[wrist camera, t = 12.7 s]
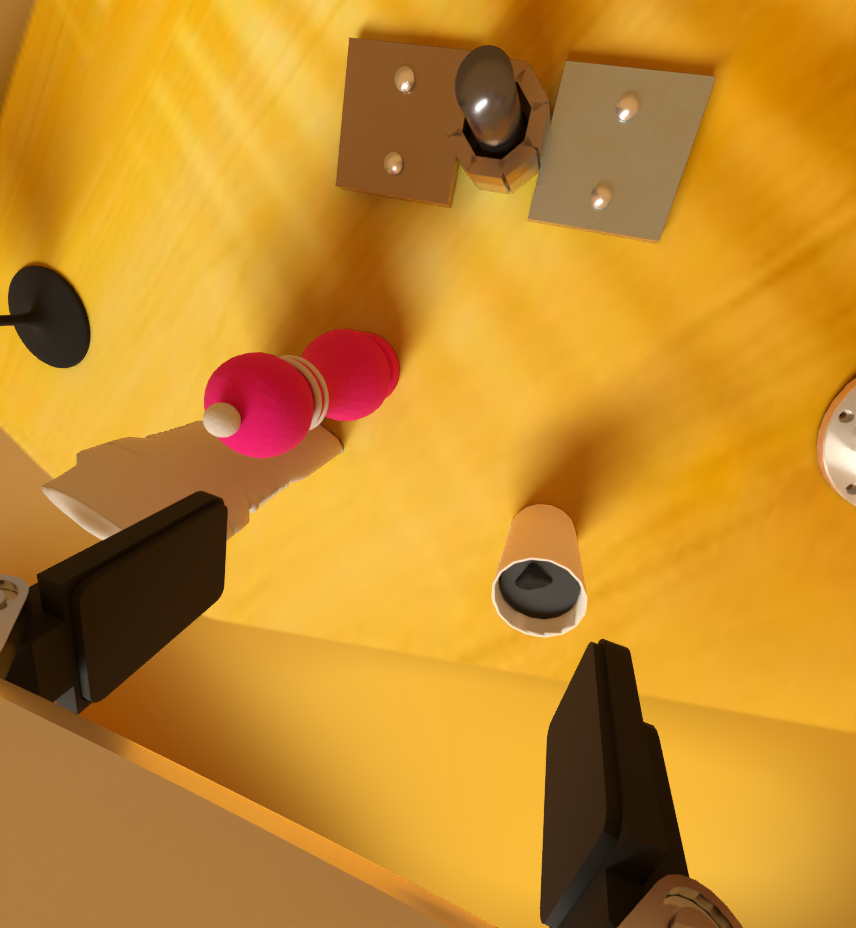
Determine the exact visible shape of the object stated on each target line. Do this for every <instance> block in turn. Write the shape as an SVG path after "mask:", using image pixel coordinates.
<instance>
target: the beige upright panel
mask: <svg viewBox="0 0 856 928" xmlns="http://www.w3.org/2000/svg"><path fill="white" fill-rule="evenodd" d="M341 452H343V445H342V444H341V442H340V440H339V439H338V438H337V437H336V436H335V435H334V434H332V433H331V432H330V431H329V430H328V429H326V428H325V427H324V426H323V425H322V424H319V425H318V426H317V427H315V428H314V429H312V430H309V431H308V433H307V434H306V436H305V438H304V439H303V440H302V441H301V442H300V444H298V445H297V446H296V447H294V448H293V449H292V450H290V451H288V452H286V453H284V454H282V455H278V456H275V457H269V458H254V457H249V456H245V455H242V454H240V453H238V452H235V451H233V450H232V449H230V448H229V447H228V446H226V445H225V444H223V443H222V442H221V441H220V440H219V438H218V437H216V436H214V435H212V434H211V433H209V432H208V431H207V429H206V428H205V427H204V424H203V421H195V422H194V423H190V424H187V425H185V426H182V427H178V428H174V429H171V430H169V431H165V432H160V433H157V434H152V435H148V436H146V437H145V438H135V437H127V438H122V439H118V440H114V441H111V442H108V443H105V444H102V445H98V446H95V447H92V448H89V449H86V450H83V451H80V452H79V453H78V454H77V465H76V466H75V467H73V468H72V469H70V470H68V471H67V472H65V473H64V474H62V475H61V476H59V477H57V478H56V479H54V480H52V481H50V482H48V483H46V484H45V485H43V486H41V488H42V490H43V492H44V494H45V495H46V496H47V497H48V498H49V499H50V501H51V502H53V503H54V504H55V505H56V506H57V507H58V508H59V509H60V510H61V511H63V512H64V513H65V514H66V515H68V516H69V517H70V518H71V519H73V520H74V521H75V522H76V523H78V524H79V525H80V526H81V527H83V528H84V529H85V530H86V531H88V532H90V533H91V534H93V535H95V536H97V537H98V538H100V539H101V540H104V539H106V538H108V537H110V536H112V535H114V534H116V533H118V532H120V531H122V530H123V529H125V528H127V527H129V526H131V525H133V524H135V523H137V522H139V521H141V520H143V519H145V518H147V517H148V516H150V515H152V514H154V513H156V512H158V511H160V510H162V509H164V508H166V507H168V506H170V505H172V504H174V503H175V502H177V501H179V500H181V499H183V498H185V497H187V496H189V495H191V494H193V493H195V492H197V491H205V492H207V493H210V494H213V495H215V496H218V497H221V498H222V499H223V501H224V505H225V506H227V508H228V519H227V539H226V540H228V539H229V538H230V537H232V536H233V535H234V534H236V533H237V532H239V531H240V530H241V529H242V528H243V527H244V526H245V525H246V524H247V523H248V522H249V513H253V512H255V511H256V510H257V509H258V508H259V507H260V506H262V505H263V503H265V502H266V501H267V500H269V499H270V498H272V497H273V496H274V495H276V493H278V492H280V491H282V490H283V489H284V488H285V487H288V485H289V483H292V482H296V481H299V480H303V479H304V478H306V477H307V476H309V475H310V474H311V473H313V472H314V471H316V470H317V469H319V468H320V467H321V466H323V465H324V464H326V463H327V462H328V461H330V460H331V459H333V458H334V457H335V456H337V455H338V454H340V453H341Z"/></svg>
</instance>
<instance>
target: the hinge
mask: <svg viewBox="0 0 856 928" xmlns="http://www.w3.org/2000/svg"><path fill="white" fill-rule="evenodd" d="M470 52H471V51H470V50H461V49H452V48H442V47H433V46H423V45H414V44H405V43H395V42H386V41H376V40H367V39H358V38H349V47H348V58H347V69H346V80H345V91H344V102H343V113H342V124H341V135H340V146H339V157H338V168H337V179H336V186H337V187H339V188H341V189H344V190H350V191H356V192H361V193H367V194H373V195H379V196H385V197H390V198H396V199H402V200H408V201H414V202H419V203H425V204H431V205H437V206H443V207H448V208H451V205H452V199H453V193H454V188H455V182H456V177H457V171H458V166H459V162H460V163H461V165H462V167H463V169H464V170H465V172H466V173H467V175H468V176H469V177H470V179H471V180H472V182H473V183H474V184H475V186H476V187H478V188H479V189H480V190H486V191H493V192H499V193H505V194H509V191H510V190H511V192H512V193H513V192H514V191H516V190H517V189H518V188H519V187H521V186H522V185H523V184H524V183H526V182H527V181H528V180H529V179H531V178H532V177H533V176H535V175H536V174H537V173H538V172H539V174H538V179H537V183H536V187H535V191H534V195H533V199H532V204H531V208H530V212H529V216H528V220H529V221H530V222H535V223H541V224H547V225H553V226H559V227H564V228H570V229H576V230H582V231H587V232H593V233H599V234H605V235H611V236H616V237H622V238H628V239H634V240H640V241H645V242H651V243H657V242H659V240H660V238H661V235H662V232H663V229H664V226H665V223H666V220H667V217H668V215H669V212H670V209H671V206H672V203H673V200H674V197H675V194H676V191H677V189H678V186H679V183H680V180H681V177H682V174H683V171H684V168H685V166H686V163H687V160H688V157H689V154H690V151H691V148H692V145H693V142H694V140H695V137H696V134H697V131H698V128H699V125H700V122H701V119H702V117H703V114H704V111H705V108H706V105H707V102H708V99H709V96H710V93H711V91H712V88H713V85H714V82H715V79H716V77H715V76H705V75H696V74H687V73H677V72H668V71H658V70H649V69H640V68H630V67H621V66H611V65H602V64H593V63H583V62H574V61H566V62H565V66H564V70H563V75H562V79H561V83H560V87H559V91H558V95H557V100H556V104H555V108H554V112H553V116H552V120H551V124H550V104H549V98H548V96H547V94H546V93H545V91H544V89H543V87H542V85H541V83H540V81H539V79H538V77H537V76H536V74H535V72H534V70H533V68H532V66H531V64H529V65H528V66H527V61H521V60H511V59H510V61H511V64H512V67H513V72H514V77H515V82H516V87H517V92H518V97H519V103H520V108H521V111H523V112H524V114H525V115H526V117H527V119H528V121H529V122H528V127H527V131H526V136H525V140H524V141H523V142H522V143H521V144H520V145H518V146H517V147H516V148H515V149H514V150H512V151H511V152H510V153H509V154H508V155H506V156H505V157H504V158H503V159H502V160H499V159H492V158H486V157H479V156H476V155H475V154H474V152H475V147H476V142H477V139H476V137H475V135H474V133H473V131H472V129H471V127H470V125H469V124H468V122H467V120H466V118H465V116H464V114H463V112H462V110H461V108H460V106H459V104H458V102H457V99H456V95H455V79H456V74H457V71H458V69H459V66H460V65H461V63H462V61H463V60H464V58H465V57H466V56H467V55H468V54H469V53H470ZM539 168H540V170H539Z"/></svg>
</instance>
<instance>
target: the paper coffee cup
mask: <svg viewBox="0 0 856 928" xmlns="http://www.w3.org/2000/svg"><path fill="white" fill-rule="evenodd" d="M492 601H493V603H494V606H495V608H496V610H497V613H498V615H499V616H500V617H501V618H502V619H503V620H504V621H505V622H506V623H507V624H508V625H509V626H510V627H512V628H514V629H516V630H518V631H520V632H522V633H524V634H526V635H532V636H539V637H550V636H557V635H562V634H564V633H566V632H567V631H569V630H571V629H573V628H574V627H576V626H577V625H578V623H579V622H580V621H581V619H582V618H583V616H584V615H585V613H586V605H587V593H586V587H585V581H584V576H583V570H582V564H581V559H580V553H579V547H578V542H577V536H576V530H575V527H574V525H573V522H572V519H571V518H570V517H569V516H568V515H567V514H566V513H565V512H564V511H563V510H561V509H559V508H557V507H554V506H552V505H546V504H536V505H532V506H528V507H525V508H524V509H523V510H521V511H520V512H519V513H518V514H516V516H515V518H514V520H513V522H512V524H511V527H510V530H509V533H508V536H507V540H506V543H505V546H504V549H503V552H502V555H501V559H500V562H499V565H498V568H497V571H496V574H495V578H494V581H493V584H492Z"/></svg>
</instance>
